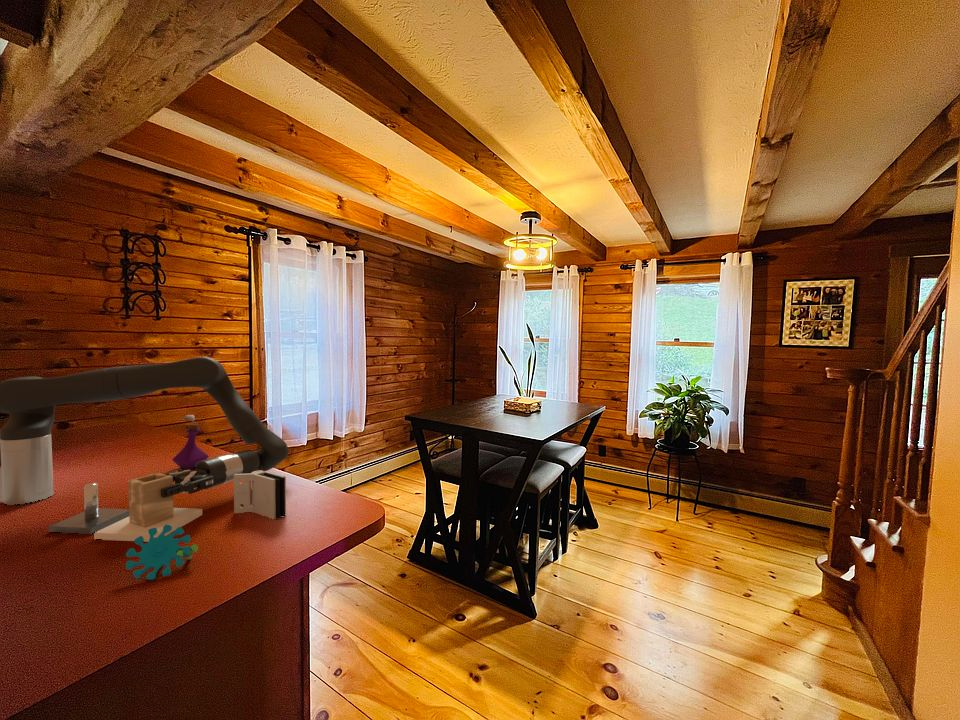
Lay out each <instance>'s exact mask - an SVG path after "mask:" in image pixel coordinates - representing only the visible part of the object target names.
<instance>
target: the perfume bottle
mask: <svg viewBox="0 0 960 720" xmlns="http://www.w3.org/2000/svg"><path fill="white" fill-rule="evenodd" d="M195 418H196V417H195V415H194V414H187V415H184V416H183V420H184V421H185V422H186V421H187V420H190V421H191V422H192V424H191V423H190V424H188V425H187V427H188V428H187V429H186V430H185V433H188V439H187V441H186V443H185V445H184V447H182V449H181V450H180V451H179V452H178V453H177V454H176V455H175V456H174V457H173V458H172V459H171V460H172V462H174V463H175V465H177V466H178V467H179V469H182V470H193V468H194V466H195V465H196V463H198V462H199V461H203V460H206V459H209V458H210V457H209V456H210V455H209V454H207V453H206V452H205V451H203V450H202V449H201V448H200V447H198V445H197V444H196V436H197V434H199V432H201V431H202V429H201V428H199V427H200V425H199V423H195V422H194V421H195Z"/></svg>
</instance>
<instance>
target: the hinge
mask: <svg viewBox="0 0 960 720" xmlns="http://www.w3.org/2000/svg"><path fill="white" fill-rule="evenodd" d="M286 479H287V477H286V475H283V474H280V473H279V474H278V473H276V472H271V471H269V470H267V471H262V470H258V471H254V472H252V473H248V474H234V480H233V504H234V505H233V506H234V507H233V508H234V509H233V513H234V514H245V513H244V512H252V513H254V512H255V513H254V514H256V513H258V514H257V515H259V514H261V515H260V516H262V515H264V516H267V517H270V518H272V519H271V520H273V519H274V518H280V519H281V517H280V516H285V517H286V515H287V480H286ZM241 481H242V482H243V483H242V482H241ZM241 505H242V506H241ZM285 514H286V515H285ZM264 516H263V517H264ZM267 517H266V518H267ZM270 518H269V519H270ZM274 520H275V519H274Z"/></svg>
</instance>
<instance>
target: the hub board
mask: <svg viewBox="0 0 960 720" xmlns="http://www.w3.org/2000/svg"><path fill="white" fill-rule="evenodd" d="M173 510H174V517H173V518H170V519H167V520H165V521H162V522H159V523H156V524H154V525H151V526H148V527H145V528H144V527H141V526H138V525H135V524H132V523H130V520H129V517H127V518H124V519H122V520H120V521H118V522H116V523H114V524H112V525H110V526H107V527H105V528H103V529H101V530H99V531H97V532H95V533H93V535H94V536H93V538H94V540H96V539H102V540H101V541H122V542H123V541H124V542H135V541H134V540H135V539H136V538H138V537H140V536H142V537H143V538H144V542H143V543H145V542H146V543H148V542H149V539H150V535H149V533H148V530H149V529H152V528H157V533H156V534H155V535H154V538H156V537H158V536H159V535H160V534H161V533H162V531H163V527H164V526H165V525H170V526H172V529H171V531H169V532H167V533H165V536H168V535H170V534H172V533H173V532H174V531H175V530H176V529H177V528H178V527H181V528H183V527H184V526H185V525H187V524H189V523H190V522H193V521H194V520H196V519H198V518H199V517H201V516H203V508H194V507H193V508H192V507H190V508H188V507H173Z"/></svg>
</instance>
